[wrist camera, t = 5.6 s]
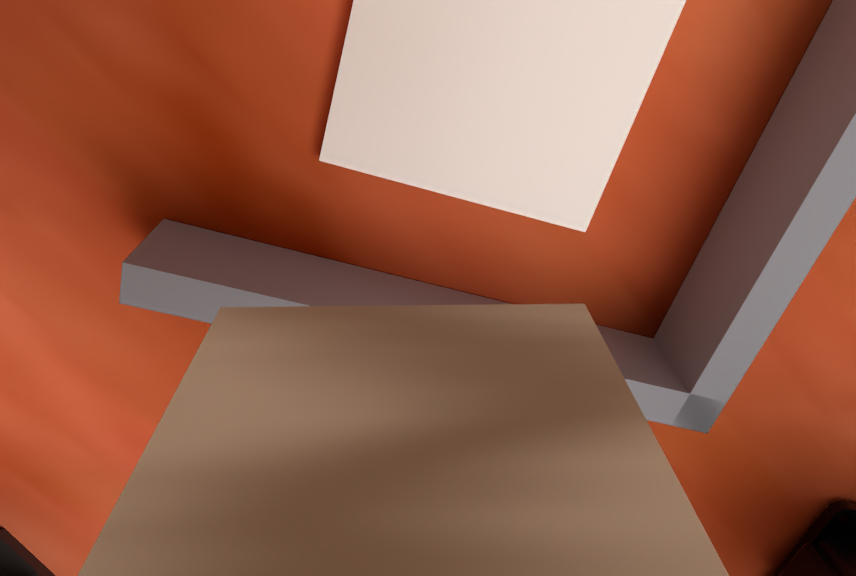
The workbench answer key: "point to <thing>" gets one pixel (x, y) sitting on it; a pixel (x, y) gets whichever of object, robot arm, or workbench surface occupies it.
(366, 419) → the cube
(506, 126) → the l-shaped corner bracket
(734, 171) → the workbench surface
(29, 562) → the phone stand
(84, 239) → the workbench surface
